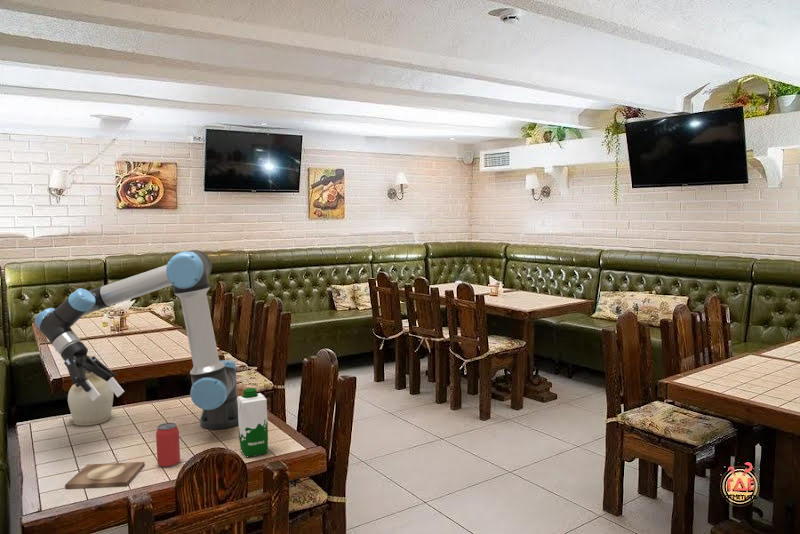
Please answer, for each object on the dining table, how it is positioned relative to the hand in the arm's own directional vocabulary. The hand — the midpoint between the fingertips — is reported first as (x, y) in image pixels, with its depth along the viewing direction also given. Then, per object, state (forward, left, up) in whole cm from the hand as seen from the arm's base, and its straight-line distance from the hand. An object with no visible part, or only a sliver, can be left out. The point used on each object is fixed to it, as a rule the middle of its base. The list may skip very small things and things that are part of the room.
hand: (109, 396), depth 196 cm
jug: (+20, -31, -18) cm, 41 cm away
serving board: (-7, +21, -18) cm, 29 cm away
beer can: (-22, +13, -18) cm, 32 cm away
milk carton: (-47, +7, -18) cm, 51 cm away
